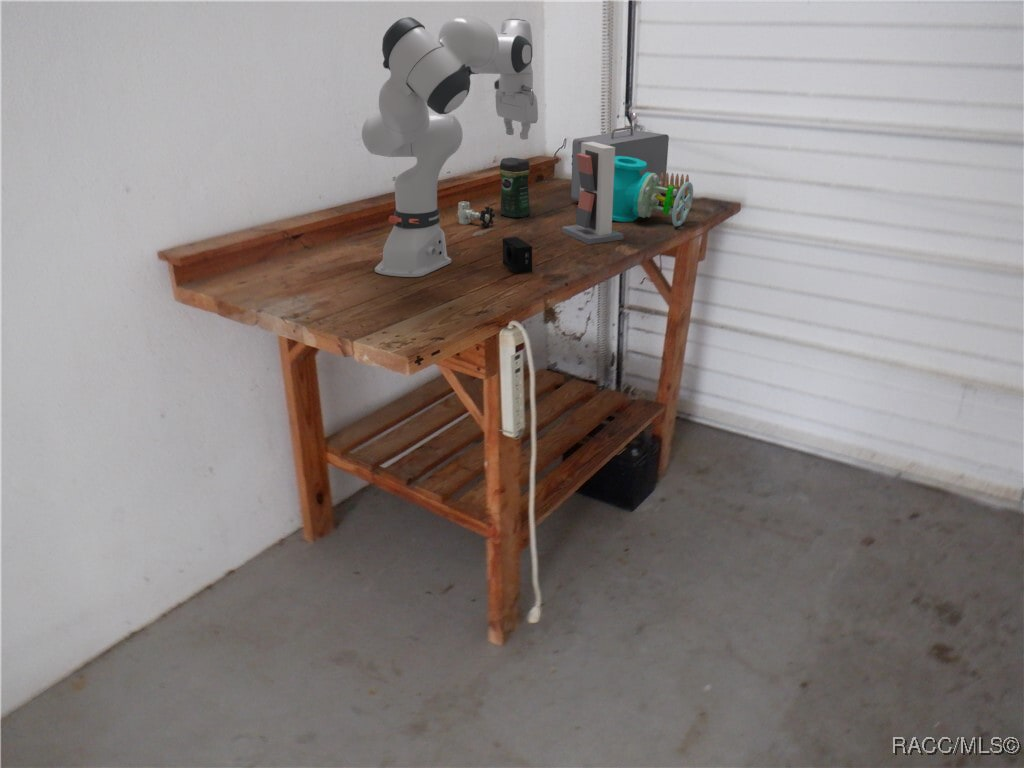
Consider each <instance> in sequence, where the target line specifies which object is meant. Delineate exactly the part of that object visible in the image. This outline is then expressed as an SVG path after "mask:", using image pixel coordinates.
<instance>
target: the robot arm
mask: <svg viewBox="0 0 1024 768" xmlns="http://www.w3.org/2000/svg"><path fill="white" fill-rule="evenodd" d="M383 35H384V36H383V37H382V44H381V45H382V49H381V51H382V57H383V58H384V60H383V62H382V67H383V68H384V69H387V70H389V71H390V77H389V78H388V80H386V81H385V82H384V83H383V85H382V86H381V88H380V90H379V93H378V94H379V95H378V109H379V113H376V114H373V115H369V116H368V117H367V118H366V120H365V121H364V123H363V126H362V128H361V129H362V130H361V138H362V142H363V144H364V147H365V148H366V149H367V151H368V152H369V153H370V154H372V155H376V156H379V157H388V158H409V157H410V158H416V163H415V165H414V166H412V167H410V168H408V169H406V170H405V171H403V172H401V173H400V174H399V175H398V176H397V177H396V179H395V181H394V196H395V197H394V199H395V209H394V214H393V215H389V217H388V222H389V224H393V227H392V230H391V232H390V233H389V235H388V238H387V240H386V241H385V244H384V245H383V248H382V260H381V261H380V262H379V263H378V264H377V265H376V266H375V268H374V272H375V273H378V274H380V275H384V276H391V277H401V278H402V277H403V278H418V277H422V276H426V275H428V274H430V273H432V272H434V271H436V270H438V269H440V268H443V267H445V266H448V265H449V264H452V262H453V261H452V258H451V257H450V256H448V253H447V244H446V234H445V232H444V230H443V228H442V227H441V225H440V223H439V222H440V220H441V219H440V215H441V214H440V208H439V207H438V182H439V176H440V172H441V170H442V168H443V166H444V164H445V163H446V162H447V160H448V159H449V158H451V156H453V155H454V154H455V153H456V152H457V151H458V150H459V148H460V146H461V145H462V142H463V128H462V125H461V123H460V121H459V119H457V118H456V116H455V115H454V114H450V113H452V112H453V111H455V110H456V109H458V108H459V107H460V106H461V105H462V104H464V101H465V100H466V99H467V97H468V95H469V94H470V93H469V92H470V90H471V89H470V88H471V75H479V74H487V75H488V74H489V75H490V74H491V75H499V77H498V79H496V80H495V81H494V82H493V88H494V90H496V91H495V109H496V114H497V116H498V117H500V118H501V117H502V118H503V124H504V127H505V134H506V135H508V136H513V135H514V134H515V132H514V131H515V130H514V129H515V128H514V127H513V123H512V122H513V121H514V122H515V121H516V122H517V123H518V122H519V123H520V125H521V131H520V132H519V135H520V136H519V138H520V140H528V139H529V132H530V129H531V124H536V123H537V122H538V119H539V112H538V111H539V110H538V109H539V107H538V99H537V95H536V94H535V92H534V90H533V88H534V87H533V86H534V85H533V84H534V79H533V77H534V76H533V75H534V74H533V73H534V71H533V67H532V59H533V55H534V54H533V53H534V47H533V46H534V45H533V33H532V28H531V24H530V22H529V21H527V20H525V19H520V18H508V19H505V20H503V21H502V22H501V28H500V33H497V32H496V30H495V29H494V28H493V27H492V25H490V24H489V23H488V22H486V21H484V20H482V19H479V18H476V17H474V16H467V15H466V16H465V15H463V16H456V17H452V18H449V19H448V20H446V21H445V23H443V25H442V26H441V28H440V30H439V33H438V39H436V38H435V37H434V36H433V35H432V34H431V33H430V32H429V31H428V30H427V29H426V27H425V25H423V24H422V23H421V22H419V20H417V19H416V18H413V17H410V16H407V17H403V18H400V19H398V20H396V21H395V22H394V23H392V25H390V27H388V29H387V30H386V32H385V33H384V34H383ZM429 108H430V109H431V110H432V111H429Z"/></svg>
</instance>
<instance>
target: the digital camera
mask: <svg viewBox="0 0 1024 768" xmlns="http://www.w3.org/2000/svg"><path fill="white" fill-rule="evenodd" d="M502 263H503V264H504V265H505V266H507V267H508V269H509V268H510V269H511V270H512V271H513V272H515V273H516V274H523V273H524V274H525V273H530V272H532V273H533V246H532V245H531V244H530V243H527V242H526V241H525V240H523V239H521V238H519V237H517V236H513V237H504V238H502Z"/></svg>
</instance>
